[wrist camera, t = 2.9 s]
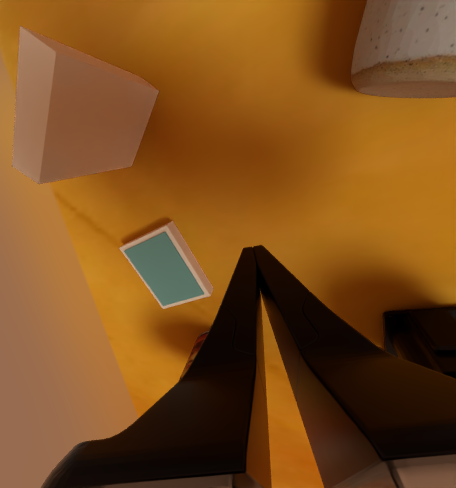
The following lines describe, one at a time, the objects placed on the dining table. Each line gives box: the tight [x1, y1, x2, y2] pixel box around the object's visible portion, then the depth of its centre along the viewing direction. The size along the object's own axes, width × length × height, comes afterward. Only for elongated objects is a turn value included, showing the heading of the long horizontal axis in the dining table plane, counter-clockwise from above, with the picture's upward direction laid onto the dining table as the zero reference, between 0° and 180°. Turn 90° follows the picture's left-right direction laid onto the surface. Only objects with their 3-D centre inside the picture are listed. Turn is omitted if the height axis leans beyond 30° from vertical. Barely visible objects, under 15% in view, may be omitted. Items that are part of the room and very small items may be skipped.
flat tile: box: [120, 221, 214, 309], centre depth 25 cm, size 9×7×2 cm
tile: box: [12, 26, 159, 184], centre depth 15 cm, size 2×7×9 cm, turn 147°
